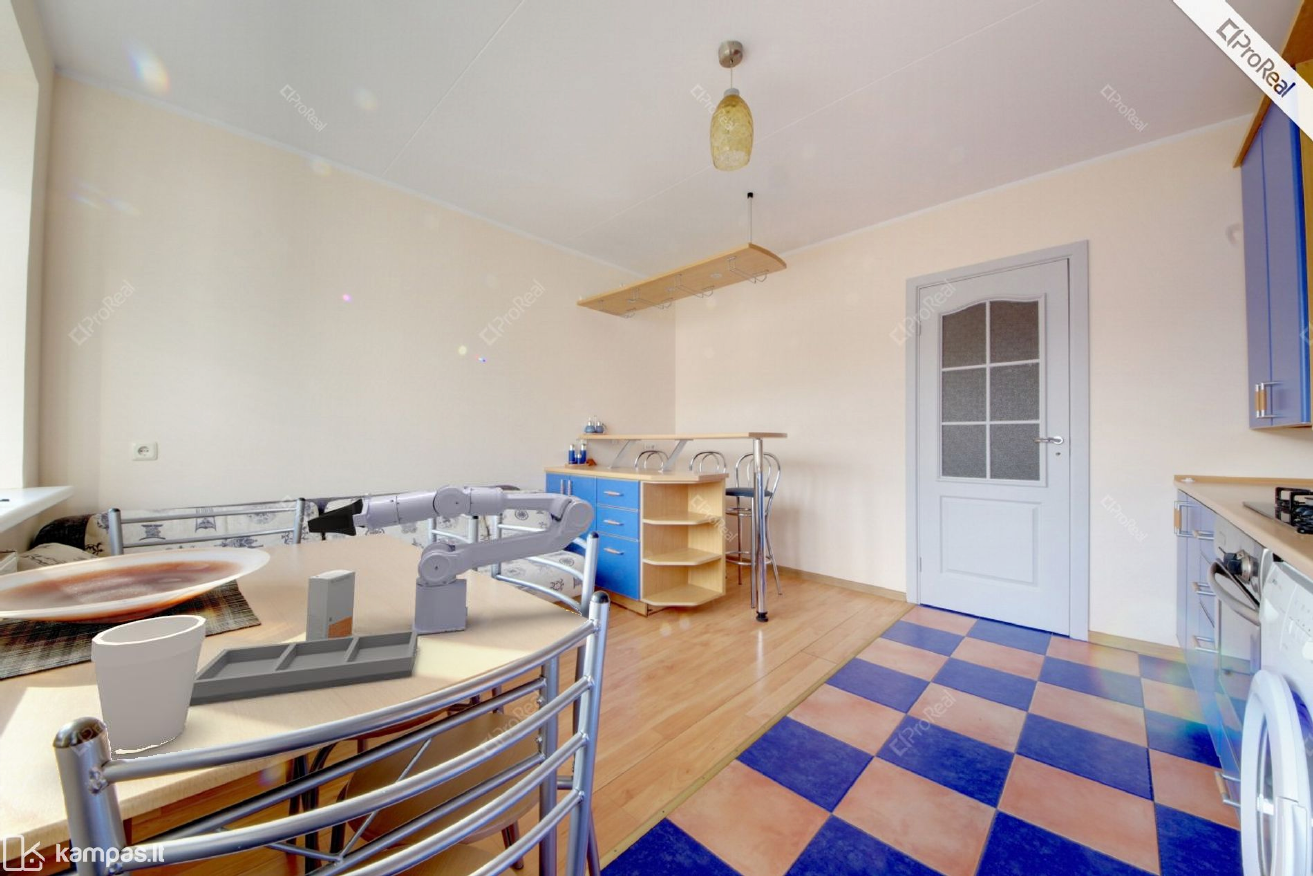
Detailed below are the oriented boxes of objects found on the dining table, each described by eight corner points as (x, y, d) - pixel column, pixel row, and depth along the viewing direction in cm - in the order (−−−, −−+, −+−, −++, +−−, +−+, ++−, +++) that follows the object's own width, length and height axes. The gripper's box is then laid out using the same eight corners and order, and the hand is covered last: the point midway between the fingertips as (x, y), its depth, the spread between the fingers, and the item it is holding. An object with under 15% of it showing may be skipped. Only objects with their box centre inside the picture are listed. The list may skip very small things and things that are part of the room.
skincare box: (325, 649, 84) (328, 579, 84) (304, 646, 85) (307, 577, 85) (354, 635, 90) (356, 570, 90) (334, 633, 91) (336, 568, 91)
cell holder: (417, 646, 86) (417, 629, 86) (410, 676, 75) (411, 656, 75) (223, 668, 76) (224, 649, 76) (183, 706, 65) (184, 684, 65)
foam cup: (170, 710, 64) (175, 611, 65) (220, 724, 62) (224, 620, 62) (66, 753, 55) (72, 638, 55) (119, 771, 53) (124, 650, 53)
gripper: (400, 485, 100) (321, 497, 95) (391, 492, 86) (299, 505, 81) (404, 519, 100) (326, 533, 95) (396, 531, 87) (305, 547, 81)
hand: (314, 523), depth 88 cm, fingers open, 7 cm apart
